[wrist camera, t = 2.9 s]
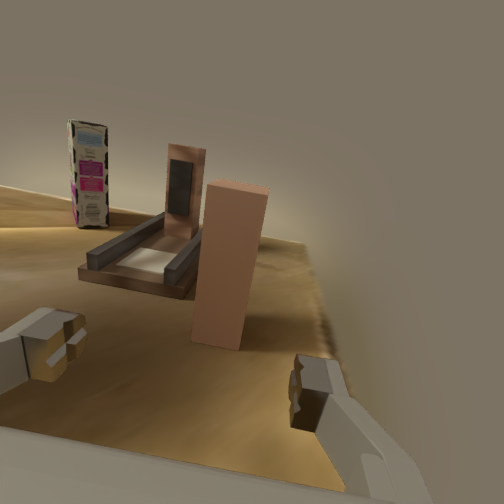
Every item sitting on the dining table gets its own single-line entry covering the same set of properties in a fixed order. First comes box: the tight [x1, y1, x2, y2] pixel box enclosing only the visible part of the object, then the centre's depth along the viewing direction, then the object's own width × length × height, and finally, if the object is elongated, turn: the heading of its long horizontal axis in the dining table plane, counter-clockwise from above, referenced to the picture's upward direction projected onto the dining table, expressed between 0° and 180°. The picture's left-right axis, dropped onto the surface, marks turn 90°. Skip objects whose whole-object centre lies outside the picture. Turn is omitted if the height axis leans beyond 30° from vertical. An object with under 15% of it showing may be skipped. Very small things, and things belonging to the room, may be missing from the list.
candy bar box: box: [67, 119, 109, 228], centre depth 46 cm, size 11×5×16 cm, turn 35°
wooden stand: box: [78, 144, 206, 300], centre depth 37 cm, size 12×22×16 cm, turn 175°
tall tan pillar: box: [191, 179, 269, 351], centre depth 24 cm, size 4×5×14 cm
